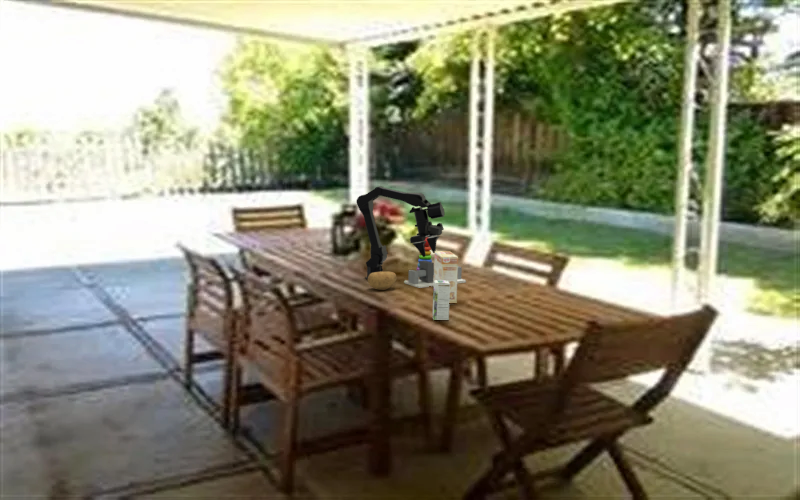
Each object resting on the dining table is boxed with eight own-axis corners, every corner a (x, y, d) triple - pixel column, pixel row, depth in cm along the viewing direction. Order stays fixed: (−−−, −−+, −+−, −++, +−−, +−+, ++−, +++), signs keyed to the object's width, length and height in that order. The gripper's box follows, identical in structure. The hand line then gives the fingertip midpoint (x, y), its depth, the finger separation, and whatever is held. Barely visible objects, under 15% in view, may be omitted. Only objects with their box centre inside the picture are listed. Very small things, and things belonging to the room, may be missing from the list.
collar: (427, 282, 400) (428, 263, 399) (419, 279, 406) (419, 261, 405) (433, 281, 402) (433, 262, 401) (424, 278, 408) (425, 260, 406)
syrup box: (432, 317, 341) (433, 279, 338) (447, 317, 341) (448, 279, 339) (433, 321, 335) (434, 282, 333) (449, 321, 335) (450, 283, 333)
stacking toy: (431, 277, 420) (432, 237, 417) (414, 276, 421) (415, 236, 418) (434, 274, 427) (435, 235, 424) (417, 273, 429) (418, 234, 426)
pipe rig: (419, 287, 395) (419, 272, 394) (404, 283, 405) (404, 268, 404) (465, 282, 409) (466, 268, 408) (450, 277, 419) (450, 263, 418)
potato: (401, 289, 391) (402, 271, 389) (375, 293, 382) (375, 274, 381) (388, 285, 398) (389, 268, 397) (362, 289, 390) (362, 271, 389)
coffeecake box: (457, 304, 364) (458, 256, 361) (440, 304, 363) (441, 257, 360) (449, 296, 379) (450, 250, 376) (432, 296, 378) (433, 251, 374)
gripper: (427, 221, 390) (434, 256, 391) (447, 215, 405) (454, 248, 407) (406, 225, 395) (413, 259, 397) (426, 218, 411) (433, 251, 413)
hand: (429, 254), depth 403 cm, fingers open, 9 cm apart
